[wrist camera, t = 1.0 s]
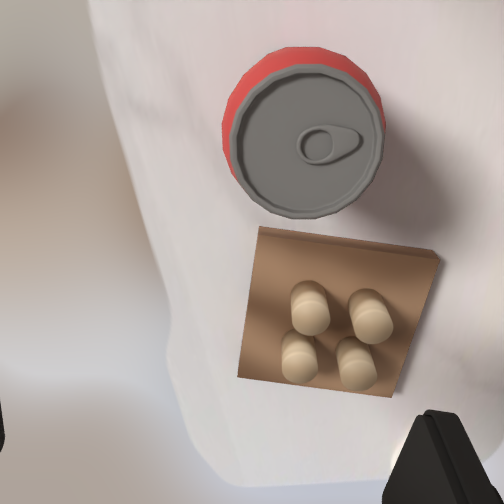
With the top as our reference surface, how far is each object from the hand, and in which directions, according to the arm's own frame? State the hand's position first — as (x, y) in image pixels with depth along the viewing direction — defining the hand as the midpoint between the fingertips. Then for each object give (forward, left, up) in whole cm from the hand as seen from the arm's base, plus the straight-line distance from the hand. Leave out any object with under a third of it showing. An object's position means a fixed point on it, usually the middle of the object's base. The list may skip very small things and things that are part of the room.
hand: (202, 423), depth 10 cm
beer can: (-5, +2, -21) cm, 21 cm away
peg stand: (+9, +7, -21) cm, 24 cm away
